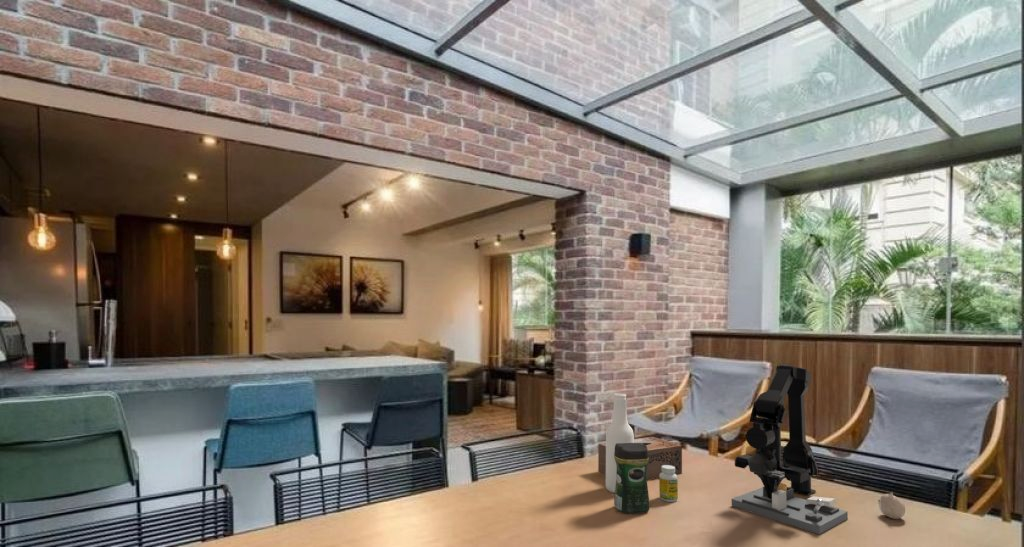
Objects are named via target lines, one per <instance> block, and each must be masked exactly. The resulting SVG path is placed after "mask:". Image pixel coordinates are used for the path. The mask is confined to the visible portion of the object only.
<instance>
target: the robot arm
mask: <svg viewBox="0 0 1024 547" xmlns="http://www.w3.org/2000/svg"><path fill="white" fill-rule="evenodd" d="M775 371H776V372H775V374H774V376H773V377H772V381H771V382H770V384H769V386H768V388H767V390H766V391H765V392H762V393H760V394H759V395H758V397H757V398H756V399H755V401H754V402H753V406H752V410H751V414H750V417H749V422H750V423H752V427H751V428H748V430H746V434H745V440H746V442H747V444H748V445H749V446H750V447H751V448H753V449H755V453H754V454H752V455H748V454H741V455H738V456H736V457H735V459H734V466H735V467H736V468H738V469H739V468H740V469H746V468H747V467H748V468H749V472H751V473H753V474H754V475H756V476H757V477H758V478H759V479H760V480H761V483H762V485H763V487H764V488H765V490H766V493H767V496H768V498H769V499H772V493H773V492H776V491H777V489H778V486H779V484H780V483H782V482H783V480H784V479H786V480H787V481H789V482H790V486H788V487H789V488H793V489H794V494H795V493H796V494H798V495H799V494H800V495H803V496H810V495H812V494H814V493H816V491H817V490H816V489H812V477H814V476H818V474H819V473H818V471H819V470H818V465H817V462H816V460H815V457H814V456H813V449H812V447H811V446H810V444H809V443H808V441H807V439H806V438H807V436H806V415H805V414H806V413H805V412H806V410H805V394H806V392H808V389H809V388H810V383H811V382H812V372H810V370H808V369H807V368H806V367H797V366H796V365H792V364H778V365H777V366H776V370H775ZM786 396H787V406H788V407H787V408H788V409H787V408H786V406H785V403H784V400H785V398H786ZM787 410H788V434H789V435H788V436H789V438H788V442H787V443H786V445H785V446H784V447H783V446H782V441H781V440H782V437H781V436H782V433H781V430H782V429H781V428H782V427H781V426H782V424H783V423H784V420H785V416H786V413H787Z"/></svg>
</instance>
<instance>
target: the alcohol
mask: <svg viewBox="0 0 1024 547" xmlns="http://www.w3.org/2000/svg"><path fill="white" fill-rule="evenodd" d="M634 433H635V432H634V430H633V428H632V426H630V424H629V422H628V412H627V394H626V393H618V392H617V393H616V392H615V393H614V394H613V410H612V420H611V423H610V424H609V425H608V427H607V428H606V432H605V443H606V475H605V488H606V490H607V491H608V492H610V493H613V494H615V487H616V474H617V466H616V461H615V459H614V452H615V445H616V444H617V443H634V439H635V435H634Z"/></svg>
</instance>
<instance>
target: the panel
mask: <svg viewBox="0 0 1024 547" xmlns="http://www.w3.org/2000/svg"><path fill="white" fill-rule="evenodd" d="M789 487H790V486H787V491H786V503H787V507H786V508H784V509H782V510H777V509H773V508H772V499H769V498H768V496H767V493H766V490H765V488H764V486H763V487H759V488H756V489H755V490H754V489H753V490H751V491H749V492H746V493H744V494H741V495H738V496H735V497H733V498H731V506H732V507H734V508H737V509H740V510H743V511H746V512H749V513H752V514H755V515H759V516H762V517H764V518H766V519H767V518H768V519H771V520H774V521H777V522H780V523H784V524H787V525H789V526H792V527H795V528H798V529H801V530H804V531H808V532H811V533H812V534H813V533H814V534H816V535H821V534H823V533H825V532H827V531H828V530H831V529H832V528H834V527H836V526H838V525H839V524H842V523H843V522H845V521H846V520H848V518H849V517H848V511H847V510H844V509H840V507H839V508H838V507H836V506H833V505H832V506H821V507H820V509H819V511H818V512H817V514H814V513H813V510H814V508H815V506H816V505H815V504H807V499H804V498H801V497H797V496H795V492H794V489H793V488H789ZM777 491H778V490H777Z"/></svg>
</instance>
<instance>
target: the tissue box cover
mask: <svg viewBox="0 0 1024 547" xmlns="http://www.w3.org/2000/svg"><path fill="white" fill-rule="evenodd" d="M634 443H642V444H644V445H646V446H647V449H648V456H649V461H648V464H647V481H649V480H650V481H651V480H655V479H659V475H660V473H662V470H661V468H662V466H663V465H670V466H674V467H675V474H676V475H677V476H678V475H682V474H683V446H682V445H680V444H677V443H674V442H672V441H669V440H668V441H667V440H665V439H661V438H658V437H655V436H649V437H648V436H647V437H640V438H639V437H638V438H634ZM597 452H598V460H597V463H598V464H597V466H598V468H597V469H598V470H597V471H598V472H599V473H600V474H602V475H605V476H606V442H601V443H598V451H597Z"/></svg>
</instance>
